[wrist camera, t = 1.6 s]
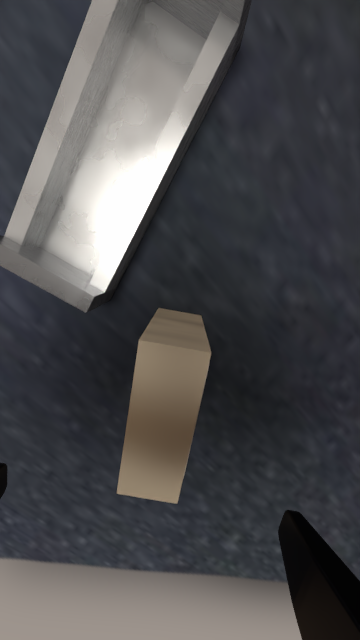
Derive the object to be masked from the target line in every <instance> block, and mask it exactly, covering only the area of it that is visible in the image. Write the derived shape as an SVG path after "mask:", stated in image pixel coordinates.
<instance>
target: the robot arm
mask: <svg viewBox="0 0 360 640" xmlns="http://www.w3.org/2000/svg"><path fill="white" fill-rule="evenodd" d="M6 487H7V465H6V464H5V463H0V499H1V497H2V495H3V494H4V492H5V490H6ZM278 535H279V541H280V546H281V551H282V556H283V561H284V566H285V571H286V576H287V581H288V585H289V590H290V595H291V600H292V603H293V608H294V612H295V615H296V619H297V623H298V626H299V630H300V633H301V637H302V640H360V581H359V580H358V579H357V577H356V576H355V575H354V574H353V573H352V572H351V570H350V569H349V568H348V567H347V566H346V565H345V564H344V562H343V561H342V560H341V559H340V558H339V557H338V556H337V554H336V553H335V552H334V551H333V550H332V549H331V548H330V546H329V545H328V544H327V543H326V542H325V541H324V539H323V538H322V537H321V536H320V535H319V534H318V533H317V531H316V530H315V529H314V528H313V527H312V526H311V525H310V523H309V522H308V521H307V520H306V519H305V518H304V517H303V515H302V514H301V513H299V512H297V511H292V510H286V511H285V513H284V515H283V518H282V521H281V523H280V526H279V530H278Z"/></svg>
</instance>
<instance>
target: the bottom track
mask: <svg viewBox="0 0 360 640" xmlns="http://www.w3.org/2000/svg"><path fill="white" fill-rule="evenodd" d="M251 1H252V0H92V3H91V5H90V8H89V11H88V13H87V16H86V19H85V21H84V24H83V27H82V29H81V32H80V35H79V37H78V40H77V43H76V45H75V48H74V51H73V53H72V56H71V59H70V62H69V64H68V67H67V70H66V72H65V75H64V78H63V80H62V83H61V86H60V88H59V91H58V94H57V96H56V99H55V102H54V104H53V107H52V110H51V112H50V115H49V118H48V121H47V123H46V126H45V129H44V131H43V134H42V137H41V139H40V142H39V145H38V147H37V150H36V153H35V155H34V158H33V161H32V163H31V166H30V169H29V171H28V174H27V177H26V180H25V182H24V185H23V188H22V190H21V193H20V196H19V198H18V201H17V204H16V206H15V209H14V212H13V214H12V217H11V220H10V222H9V225H8V228H7V231H6V233H5V236H1V235H0V266H2V267H4V268H6V269H7V270H9V271H11V272H13V273H15V274H16V275H18V276H20V277H22V278H24V279H26V280H27V281H29V282H31V283H33V284H35V285H36V286H38V287H40V288H42V289H44V290H46V291H47V292H49V293H51V294H53V295H55V296H56V297H58V298H60V299H62V300H64V301H66V302H67V303H69V304H71V305H73V306H75V307H76V308H78V309H80V310H82V311H84V312H86V313H87V312H89V311H91V310H93V309H95V308H97V307H99V306H101V305H103V304H105V303H106V302H108V301H110V300H111V298H112V296H113V294H114V292H115V290H116V288H117V286H118V284H119V282H120V280H121V278H122V276H123V274H124V272H125V271H126V269H127V267H128V265H129V263H130V261H131V259H132V257H133V255H134V253H135V251H136V249H137V247H138V245H139V243H140V241H141V239H142V237H143V235H144V233H145V232H146V230H147V228H148V226H149V224H150V222H151V220H152V218H153V216H154V214H155V212H156V210H157V208H158V206H159V204H160V202H161V200H162V198H163V196H164V195H165V193H166V191H167V189H168V187H169V185H170V183H171V181H172V179H173V177H174V175H175V173H176V171H177V169H178V167H179V165H180V163H181V161H182V159H183V157H184V156H185V154H186V152H187V150H188V148H189V146H190V144H191V142H192V140H193V138H194V136H195V134H196V132H197V130H198V128H199V126H200V124H201V122H202V120H203V118H204V117H205V115H206V113H207V111H208V109H209V107H210V105H211V103H212V101H213V99H214V97H215V95H216V93H217V91H218V89H219V87H220V85H221V83H222V81H223V79H224V78H225V76H226V74H227V72H228V70H229V68H230V66H231V64H232V62H233V60H234V58H235V56H236V54H237V52H238V50H239V48H240V45H241V41H242V37H243V33H244V29H245V25H246V21H247V17H248V13H249V9H250V5H251Z"/></svg>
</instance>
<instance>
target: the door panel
mask: <svg viewBox="0 0 360 640" xmlns="http://www.w3.org/2000/svg"><path fill="white" fill-rule="evenodd" d="M210 357H211V350H210V346H209V342H208V339H207V335H206V331H205V328H204V324H203V320H202V317H201V315H195V314H190V313H184V312H179V311H173V310H168V309H162V308H158V310H157V311H156V313H155V314H154V316H153V318H152V319H151V321H150V323H149V324H148V326H147V328H146V329H145V331H144V332H143V334H142V336H141V337H140V339H139V343H138V350H137V356H136V363H135V370H134V377H133V384H132V391H131V398H130V405H129V412H128V419H127V425H126V432H125V439H124V446H123V453H122V460H121V467H120V474H119V481H118V488H117V494H122V495H128V496H134V497H140V498H145V499H151V500H157V501H163V502H169V503H175V504H177V503H178V499H179V494H180V490H181V485H182V481H183V478H184V474H185V470H186V465H187V461H188V456H189V452H190V448H191V443H192V439H193V434H194V430H195V425H196V421H197V417H198V412H199V408H200V403H201V399H202V395H203V390H204V386H205V381H206V377H207V373H208V368H209V361H210Z"/></svg>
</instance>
